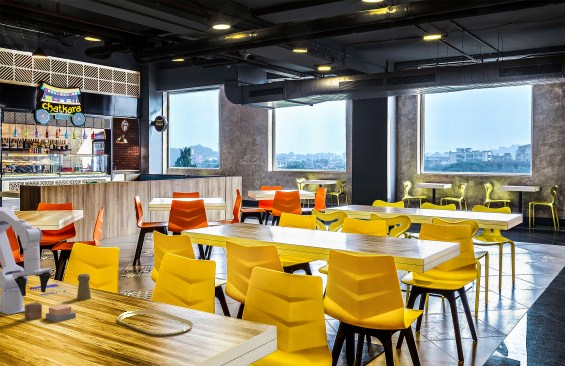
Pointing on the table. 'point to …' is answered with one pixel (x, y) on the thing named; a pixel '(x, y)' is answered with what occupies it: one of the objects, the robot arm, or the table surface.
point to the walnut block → (33, 311)
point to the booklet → (46, 287)
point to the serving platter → (156, 314)
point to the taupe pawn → (83, 287)
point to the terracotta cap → (59, 310)
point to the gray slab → (61, 317)
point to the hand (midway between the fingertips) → (33, 294)
